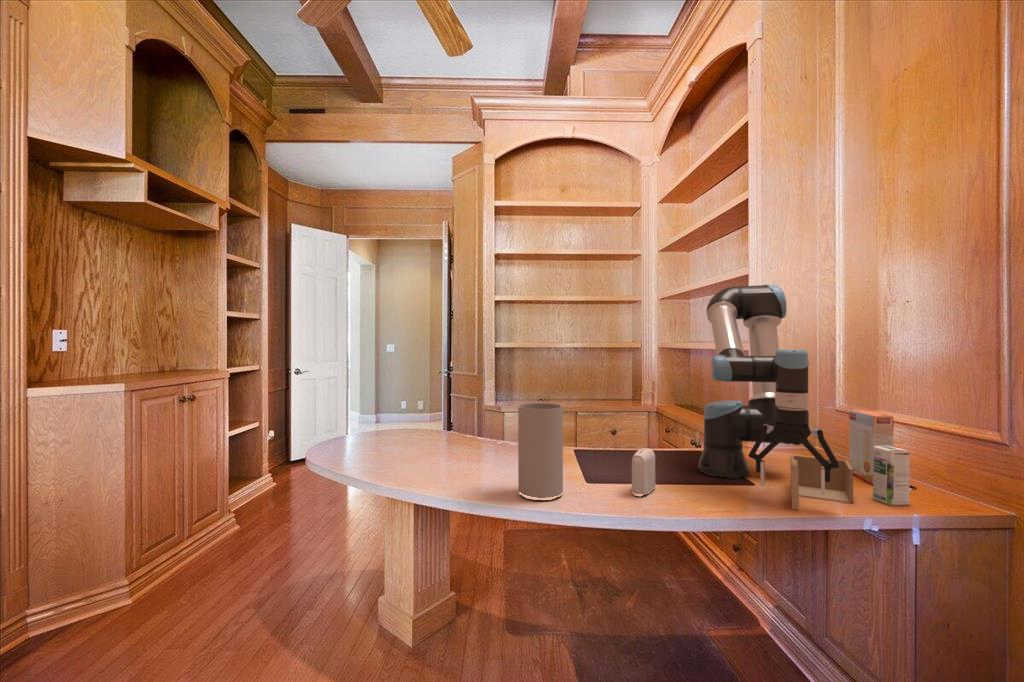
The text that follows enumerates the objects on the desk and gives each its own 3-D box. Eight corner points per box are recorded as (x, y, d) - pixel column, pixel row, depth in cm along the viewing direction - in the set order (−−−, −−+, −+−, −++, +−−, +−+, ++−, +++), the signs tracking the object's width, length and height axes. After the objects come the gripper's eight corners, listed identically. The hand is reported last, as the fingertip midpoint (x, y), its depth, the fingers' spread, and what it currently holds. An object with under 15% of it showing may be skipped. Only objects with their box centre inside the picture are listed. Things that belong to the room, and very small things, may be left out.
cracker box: (895, 486, 140) (894, 415, 140) (872, 485, 141) (871, 415, 141) (869, 473, 154) (869, 409, 154) (848, 472, 155) (848, 408, 155)
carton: (791, 495, 132) (791, 463, 132) (790, 485, 142) (790, 455, 142) (853, 503, 126) (853, 469, 126) (847, 492, 135) (847, 460, 135)
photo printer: (642, 486, 141) (642, 444, 141) (657, 489, 139) (657, 446, 139) (629, 495, 133) (629, 451, 133) (644, 498, 130) (644, 453, 130)
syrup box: (871, 498, 129) (871, 445, 129) (891, 498, 130) (891, 445, 130) (890, 506, 124) (889, 450, 124) (910, 505, 124) (910, 449, 124)
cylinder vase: (556, 504, 126) (556, 410, 126) (512, 499, 130) (511, 407, 130) (567, 490, 137) (567, 404, 137) (526, 486, 142) (526, 402, 142)
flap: (790, 495, 131) (790, 459, 131) (797, 496, 131) (796, 460, 131) (791, 508, 121) (791, 469, 121) (798, 509, 120) (798, 470, 120)
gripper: (737, 406, 128) (737, 485, 128) (850, 414, 114) (851, 502, 114) (741, 403, 134) (741, 478, 134) (849, 410, 120) (849, 493, 120)
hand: (792, 489), depth 124 cm, fingers open, 13 cm apart
